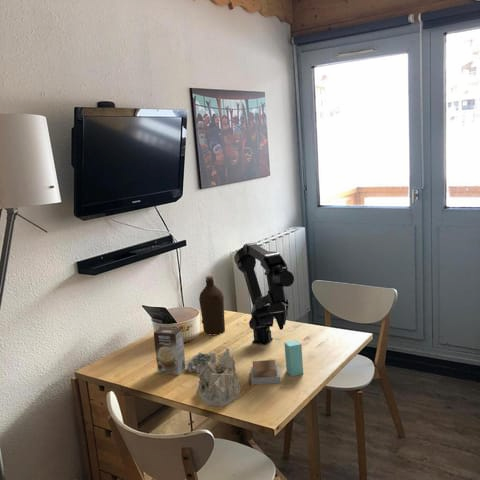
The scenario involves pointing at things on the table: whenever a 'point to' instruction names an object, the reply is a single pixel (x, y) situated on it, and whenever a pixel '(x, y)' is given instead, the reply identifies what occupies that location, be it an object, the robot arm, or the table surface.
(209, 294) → the olive oil
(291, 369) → the teal block
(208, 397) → the grey jagged round piece
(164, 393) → the table surface
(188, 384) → the table surface
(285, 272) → the robot arm
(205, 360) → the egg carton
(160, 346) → the coffee box
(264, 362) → the walnut slab
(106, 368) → the table surface
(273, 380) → the slate slab
